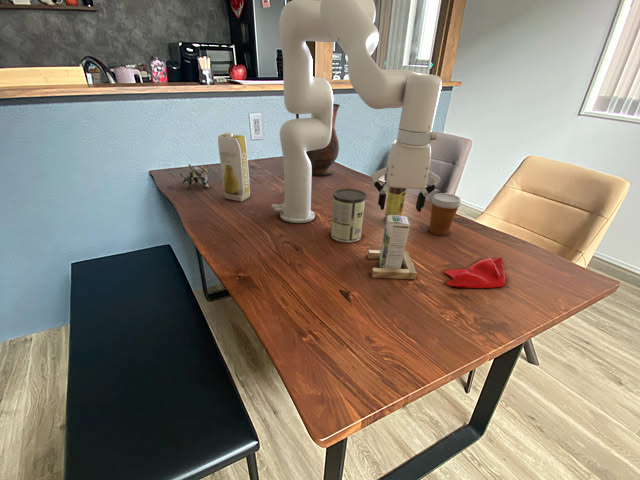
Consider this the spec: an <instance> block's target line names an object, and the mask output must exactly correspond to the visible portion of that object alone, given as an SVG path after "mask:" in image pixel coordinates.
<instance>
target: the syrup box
mask: <svg viewBox="0 0 640 480" xmlns="http://www.w3.org/2000/svg"><path fill="white" fill-rule="evenodd" d="M410 228H411V223H410V221H409V218H408V216H405V215H402V216H399V215H388V216H387V220H386V221H385V226H384V232H383V235H382V236H383V237H382V242H381V248H380V250H381V253H380V259H378V265H379V268H388V269H402V266H403V263H402V260H403V256H404V251H406V246H407V242H408V238H409V232H410Z"/></svg>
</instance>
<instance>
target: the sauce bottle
mask: <svg viewBox="0 0 640 480" xmlns="http://www.w3.org/2000/svg"><path fill="white" fill-rule="evenodd" d="M407 191H408V188H393V187H390V188H389V189H388V192H387V197H386V203H385V205H386V206H385V213H384V221H385V222H386V220H387V216H388V215H399V216H403V214H404V208H405V203H406V198H407Z"/></svg>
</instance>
